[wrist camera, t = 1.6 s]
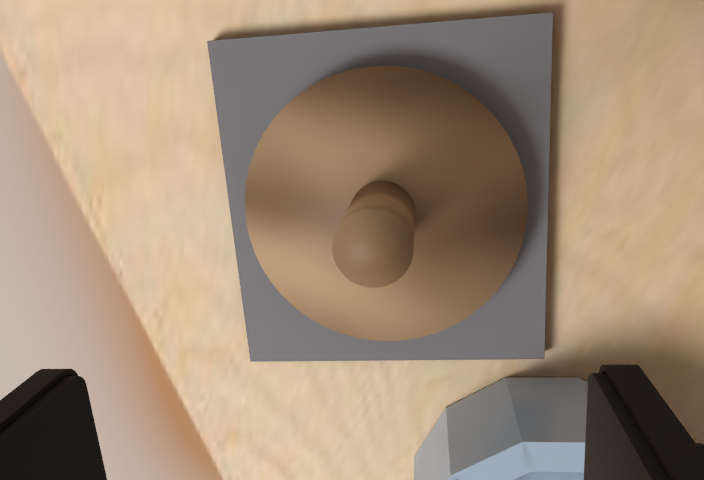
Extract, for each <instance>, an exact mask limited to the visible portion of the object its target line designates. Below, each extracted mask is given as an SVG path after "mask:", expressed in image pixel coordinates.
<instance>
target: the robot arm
mask: <svg viewBox="0 0 704 480" xmlns="http://www.w3.org/2000/svg"><path fill="white" fill-rule="evenodd" d="M0 480H107V478H106V473H105V469H104V464H103V460H102V455H101V450H100V446H99V442H98V437H97V432H96V428H95V423H94V418H93V414H92V409H91V404H90V400H89V395H88V391H87V386H86V383H85V380H84V379H83V378H82V377H80V376H78V374H77V373H76V372H75V371H74V370H72V369H41V370H39V371H38V372H36V373H35V374H33V375H32V376H31V377H30V378H28V379H27V380H26V381H25V382H23V383H22V384H21V385H20V386H18V387H17V388H16V389H14V390H13V391H12V392H11V393H9V394H8V395H7V396H5V397H4V398H3V399H2V400H0ZM584 480H704V444H701V443H695V442H694V440H693V439H692V438H691V436H690V435H689V434H688V432H687V431H686V429H685V428H684V427H683V425H682V424H681V423H680V421H679V420H678V419H677V417H676V416H675V414H674V413H673V412H672V410H671V409H670V408H669V406H668V405H667V403H666V402H665V401H664V399H663V398H662V397H661V395H660V394H659V393H658V391H657V390H656V388H655V387H654V386H653V384H652V383H651V382H650V380H649V379H648V377H647V376H646V375H645V373H644V372H643V371H642V369H641V368H640V367H639V366H638V365H602V366H601V367H600V370H599V373H591V374H590V375H589V378H588V393H587V415H586V438H585V460H584Z"/></svg>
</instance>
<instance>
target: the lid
mask: <svg viewBox="0 0 704 480" xmlns="http://www.w3.org/2000/svg"><path fill="white" fill-rule="evenodd" d="M527 213H528V198H527V186H526V181H525V176H524V171H523V168H522V165H521V162H520V159H519V156H518V153H517V151H516V149H515V147H514V145H513V143H512V141H511V139H510V137H509V135H508V134H507V132H506V131H505V130H504V128H503V127H502V125H501V124H500V122H499V121H498V120H497V118H496V117H495V116H494V115H493V114H492V113H491V112H490V111H489V110H488V109H487V108H486V107H485V106H484V104H482V103H481V102H480V101H479V100H477V99H476V98H475V97H474V96H472V95H471V94H470V93H469V92H467V91H466V90H464V89H463V88H461V87H459V86H458V85H456V84H454V83H453V82H451V81H449V80H447V79H444V78H442V77H440V76H437V75H435V74H433V73H429V72H426V71H422V70H418V69H415V68H408V67H400V66H371V67H364V68H357V69H352V70H349V71H345V72H342V73H338V74H335V75H333V76H330V77H328V78H326V79H324V80H321V81H319V82H317V83H315V84H314V85H312V86H311V87H309V88H307V89H306V90H304V91H303V92H301V93H300V94H299V95H297V96H296V97H295V98H294V99H293V100H291V101H290V102H289V103H288V104H286V106H285V107H284V108H283V109H282V110H281V111H280V112H279V113H278V114H277V115H276V116H275V118H274V119H273V120H272V122H271V123H270V125H269V126H268V127H267V129H266V130H265V132H264V133H263V135H262V137H261V139H260V141H259V143H258V145H257V147H256V149H255V152H254V155H253V157H252V160H251V163H250V166H249V171H248V176H247V181H246V188H245V215H246V223H247V228H248V233H249V237H250V240H251V243H252V246H253V249H254V252H255V254H256V257H257V259H258V261H259V263H260V265H261V267H262V269H263V270H264V272H265V273H266V275H267V277H268V278H269V280H270V281H271V283H272V284H273V285H274V286H275V288H276V289H277V290H278V291H279V292H280V294H281V295H282V296H283V297H284V298H285V299H286V300H287V301H288V302H290V303H291V304H292V305H293V306H294V307H295V308H296V309H298V310H299V311H300V312H302V313H303V314H304V315H306V316H307V317H308V318H310V319H312V320H314V321H315V322H317V323H319V324H321V325H322V326H324V327H327V328H329V329H331V330H334V331H336V332H339V333H342V334H345V335H349V336H352V337H355V338H361V339H367V340H375V341H400V340H410V339H415V338H420V337H425V336H428V335H431V334H434V333H437V332H440V331H443V330H445V329H447V328H449V327H451V326H453V325H455V324H457V323H459V322H461V321H462V320H464V319H465V318H467V317H469V316H470V315H472V314H473V313H474V312H475V311H477V310H478V309H479V308H480V307H481V306H483V305H484V304H485V303H486V302H487V301H488V300H489V299H490V298H491V297H492V296H493V295H494V294H495V292H496V291H497V290H498V289H499V287H500V286H501V285H502V283H503V282H504V281H505V279H506V278H507V276H508V275H509V273H510V271H511V269H512V267H513V265H514V263H515V262H516V259H517V257H518V254H519V251H520V249H521V246H522V243H523V239H524V234H525V230H526V225H527Z"/></svg>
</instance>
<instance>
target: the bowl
mask: <svg viewBox="0 0 704 480" xmlns="http://www.w3.org/2000/svg"><path fill="white" fill-rule="evenodd" d="M587 393H588V382H586V381H584V380H582V379H580V378H578V377H505V378H503V379H501V380H499V381H497V382H495V383H493V384H491V385H489V386H488V387H486V388H484V389H482V390H480V391H478V392H476V393H474V394H472V395H470V396H468V397H466V398H464V399H462V400H460V401H458V402H456V403H454V404H452V405H450V406H448V407H446V408H445V410H444V411H443V413H442V414H441V416H440V418H439V419H438V421H437V422H436V424H435V425H434V427H433V428H432V430H431V432H430V433H429V435H428V436H427V438H426V439H425V441H424V443H423V444H422V446H421V447H420V449H419V450H418V452H417V453H416V455H415V467H414V480H584V460H585V438H586V415H587Z"/></svg>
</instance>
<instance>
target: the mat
mask: <svg viewBox="0 0 704 480" xmlns="http://www.w3.org/2000/svg"><path fill="white" fill-rule="evenodd" d="M552 31H553V12H550V13H538V14H526V15H514V16H502V17H490V18H478V19H466V20H454V21H442V22H430V23H418V24H406V25H394V26H382V27H370V28H358V29H346V30H334V31H322V32H310V33H298V34H286V35H274V36H262V37H250V38H238V39H226V40H214V41H207V43H208V50H209V58H210V65H211V72H212V80H213V87H214V95H215V102H216V109H217V117H218V124H219V131H220V139H221V146H222V154H223V161H224V168H225V176H226V183H227V190H228V198H229V205H230V213H231V220H232V227H233V235H234V242H235V250H236V257H237V264H238V272H239V279H240V286H241V294H242V301H243V309H244V316H245V323H246V331H247V338H248V345H249V353H250V360H251V361H363V360H479V359H544V351H545V311H546V271H547V231H548V191H549V151H550V111H551V71H552ZM371 66H400V67H408V68H415V69H418V70H422V71H426V72H429V73H433V74H435V75H437V76H440V77H442V78H444V79H447V80H449V81H451V82H453V83H454V84H456V85H458V86H459V87H461V88H463V89H464V90H466V91H467V92H469V93H470V94H471V95H472V96H474V97H475V98H476V99H477V100H479V101H480V102H481V103H482V104H484V106H485V107H486V108H487V109H488V110H489V111H490V112H491V113H492V114H493V115H494V116H495V117H496V118H497V120H498V121H499V122H500V124H501V125H502V127H503V128H504V130H505V131H506V132H507V134H508V135H509V137H510V139H511V141H512V143H513V145H514V147H515V149H516V151H517V153H518V156H519V159H520V162H521V165H522V168H523V171H524V176H525V181H526V186H527V198H528V213H527V225H526V230H525V234H524V239H523V243H522V246H521V249H520V251H519V254H518V257H517V259H516V262H515V263H514V265H513V267H512V269H511V271H510V273H509V275H508V276H507V278H506V279H505V281H504V282H503V283H502V285H501V286H500V287H499V289H498V290H497V291H496V292H495V294H494V295H493V296H492V297H491V298H490V299H489V300H488V301H487V302H486V303H485V304H484V305H483V306H481V307H480V308H479V309H478V310H477V311H475V312H474V313H473V314H472V315H470V316H469V317H467V318H465V319H464V320H462V321H461V322H459V323H457V324H455V325H453V326H451V327H449V328H447V329H445V330H443V331H440V332H437V333H434V334H431V335H428V336H425V337H420V338H415V339H410V340H400V341H375V340H367V339H361V338H355V337H352V336H349V335H345V334H342V333H339V332H336V331H334V330H331V329H329V328H327V327H324V326H322V325H321V324H319V323H317V322H315V321H314V320H312V319H310V318H308V317H307V316H306V315H304V314H303V313H302V312H300V311H299V310H298V309H296V308H295V307H294V306H293V305H292V304H291V303H290V302H288V301H287V300H286V299H285V298H284V297H283V296H282V295H281V294H280V292H279V291H278V290H277V289H276V288H275V286H274V285H273V284H272V283H271V281H270V280H269V278H268V277H267V275H266V273H265V272H264V270H263V269H262V267H261V265H260V263H259V261H258V259H257V257H256V254H255V252H254V249H253V246H252V243H251V240H250V237H249V233H248V228H247V223H246V215H245V188H246V181H247V176H248V171H249V166H250V163H251V160H252V157H253V155H254V152H255V149H256V147H257V145H258V143H259V141H260V139H261V137H262V135H263V133H264V132H265V130H266V129H267V127H268V126H269V125H270V123H271V122H272V120H273V119H274V118H275V116H276V115H277V114H278V113H279V112H280V111H281V110H282V109H283V108H284V107H285V106H286V104H288V103H289V102H290V101H291V100H293V99H294V98H295V97H296V96H297V95H299V94H300V93H301V92H303V91H304V90H306V89H307V88H309V87H311V86H312V85H314V84H315V83H317V82H319V81H321V80H324V79H326V78H328V77H330V76H333V75H335V74H338V73H342V72H345V71H349V70H352V69H357V68H364V67H371Z"/></svg>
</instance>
